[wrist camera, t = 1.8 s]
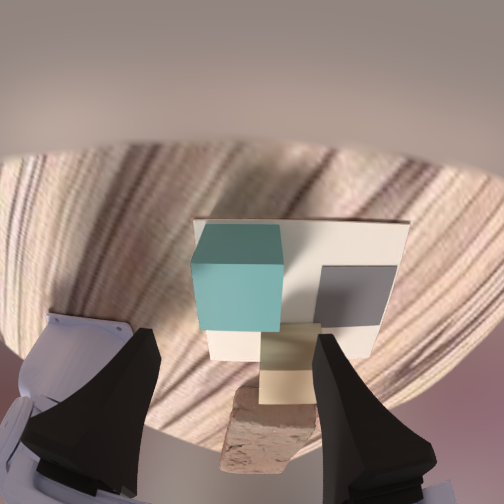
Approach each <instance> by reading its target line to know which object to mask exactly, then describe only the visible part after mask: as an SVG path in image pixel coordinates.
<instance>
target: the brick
mask: <svg viewBox="0 0 504 504" xmlns="http://www.w3.org/2000/svg"><path fill="white" fill-rule="evenodd" d="M314 406H315V404H259V388H257V387H240V388H238V390H237V391H236V393H235V396H234V401H233V409H232V412H231V414H230V420H229V424H228V427H227V432H226V435H225V440H224V444H223V448H222V452H221V459H220V465H219V466H220V470H222V471H226V472H231V473H240V474H241V473H242V474H247V473H249V474H269V473H272V474H279V473H280V472H283V470H284V469H285V467H286V465H287V463H288V462H289V461H290V458H291V457H293V456H294V455H295V454H296V453H297V452H298V451H299V449H301V447H302V446H303V445H304V444H305V443H306V442H307V441H308V438H310V437H311V435H312V433H313V431H314V430H315V427H316V425H315V422H316V416H315V408H314Z"/></svg>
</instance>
